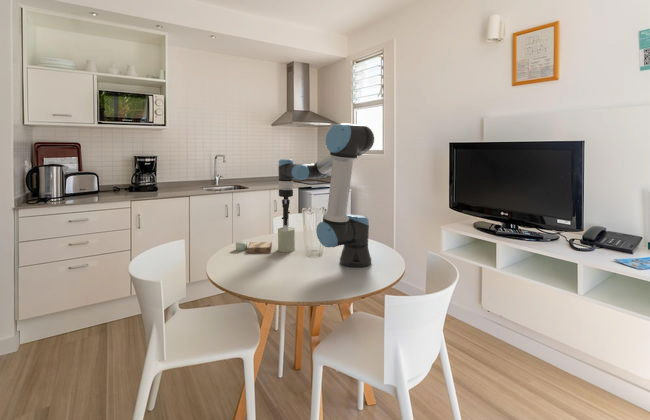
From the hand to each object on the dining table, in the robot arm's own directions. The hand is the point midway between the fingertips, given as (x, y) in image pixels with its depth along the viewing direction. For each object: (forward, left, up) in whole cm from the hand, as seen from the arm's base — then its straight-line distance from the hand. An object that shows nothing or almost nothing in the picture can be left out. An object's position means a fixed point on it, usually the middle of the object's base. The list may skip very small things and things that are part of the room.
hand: (285, 228), depth 195 cm
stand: (+9, +11, -12) cm, 18 cm away
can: (0, 0, -12) cm, 12 cm away
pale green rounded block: (+15, +19, -12) cm, 27 cm away
